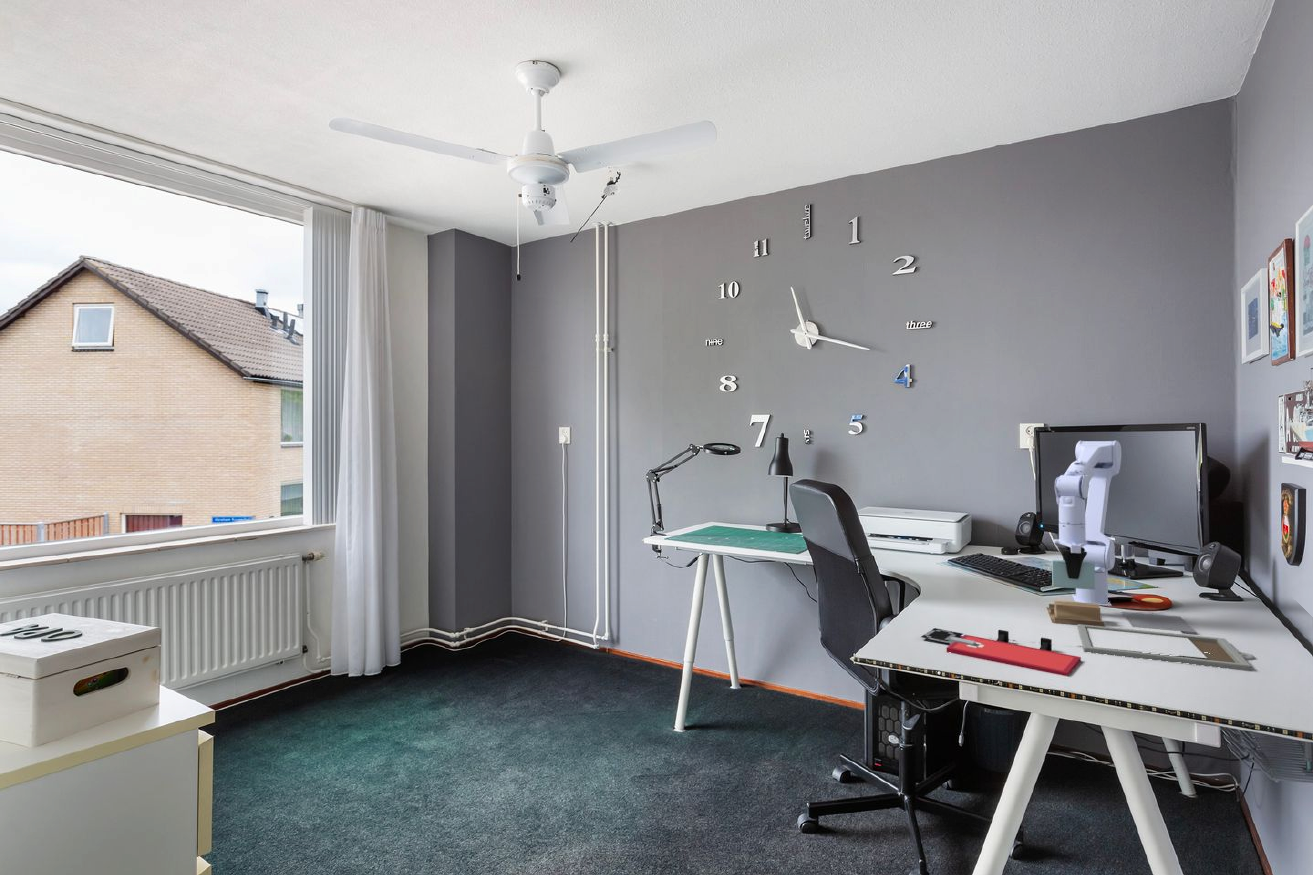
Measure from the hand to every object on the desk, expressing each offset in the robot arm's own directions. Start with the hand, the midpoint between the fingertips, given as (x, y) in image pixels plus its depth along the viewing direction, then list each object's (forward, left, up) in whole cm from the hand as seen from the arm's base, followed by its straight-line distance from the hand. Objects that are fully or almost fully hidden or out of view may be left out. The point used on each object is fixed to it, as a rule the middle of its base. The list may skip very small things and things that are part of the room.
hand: (1072, 577), depth 172 cm
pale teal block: (0, 0, -2) cm, 3 cm away
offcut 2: (+9, 0, -9) cm, 13 cm away
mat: (+2, +17, -9) cm, 19 cm away
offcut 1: (+7, 0, -9) cm, 11 cm away
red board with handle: (+37, -18, -10) cm, 43 cm away
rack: (+4, 0, -9) cm, 10 cm away
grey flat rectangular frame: (+23, +14, -10) cm, 29 cm away
